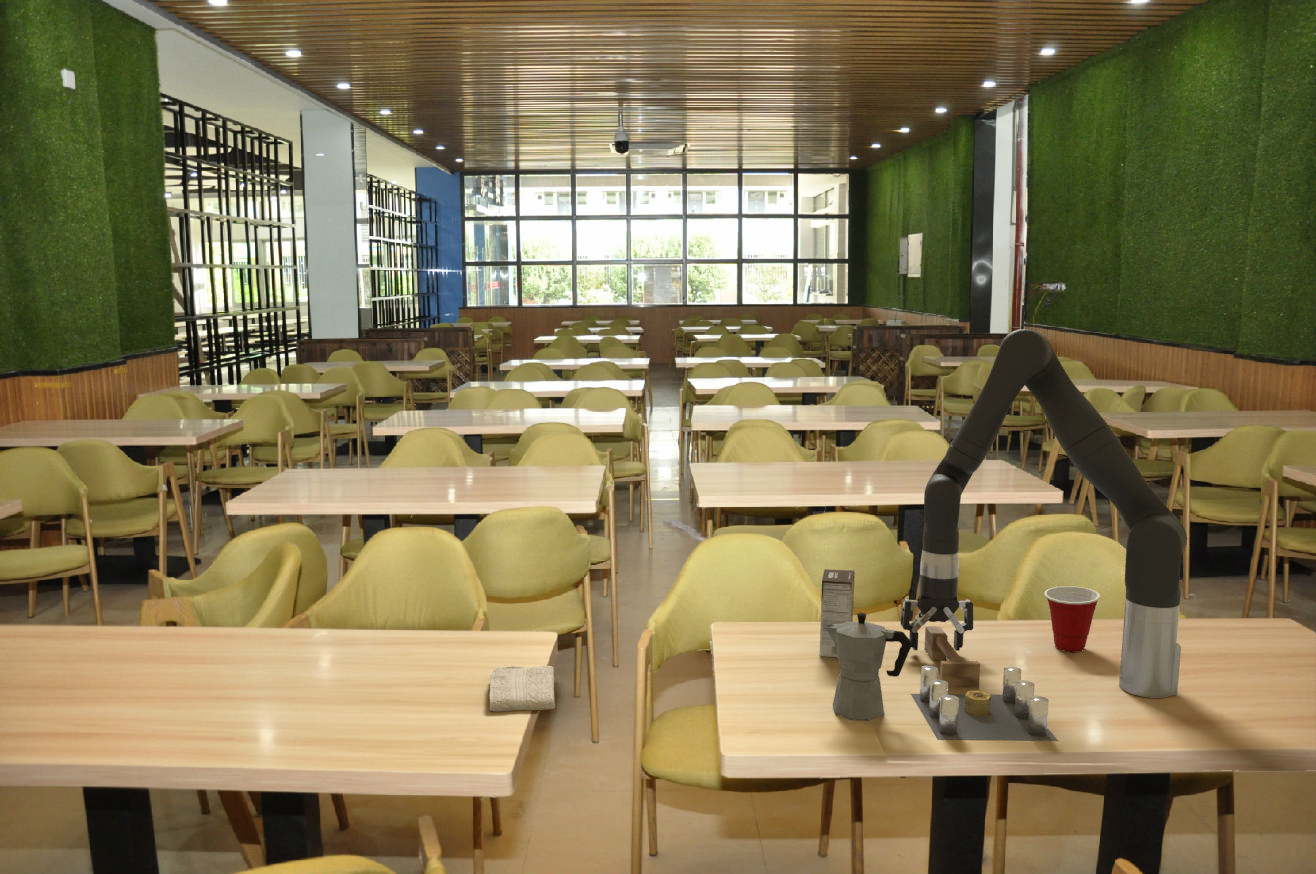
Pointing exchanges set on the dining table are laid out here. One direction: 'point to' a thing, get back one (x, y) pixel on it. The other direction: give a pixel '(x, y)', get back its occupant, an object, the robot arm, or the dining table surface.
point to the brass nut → (977, 703)
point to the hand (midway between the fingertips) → (935, 649)
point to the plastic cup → (1071, 615)
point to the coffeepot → (863, 666)
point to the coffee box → (835, 605)
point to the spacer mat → (985, 723)
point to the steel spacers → (1013, 693)
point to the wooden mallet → (950, 660)
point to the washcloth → (522, 688)
